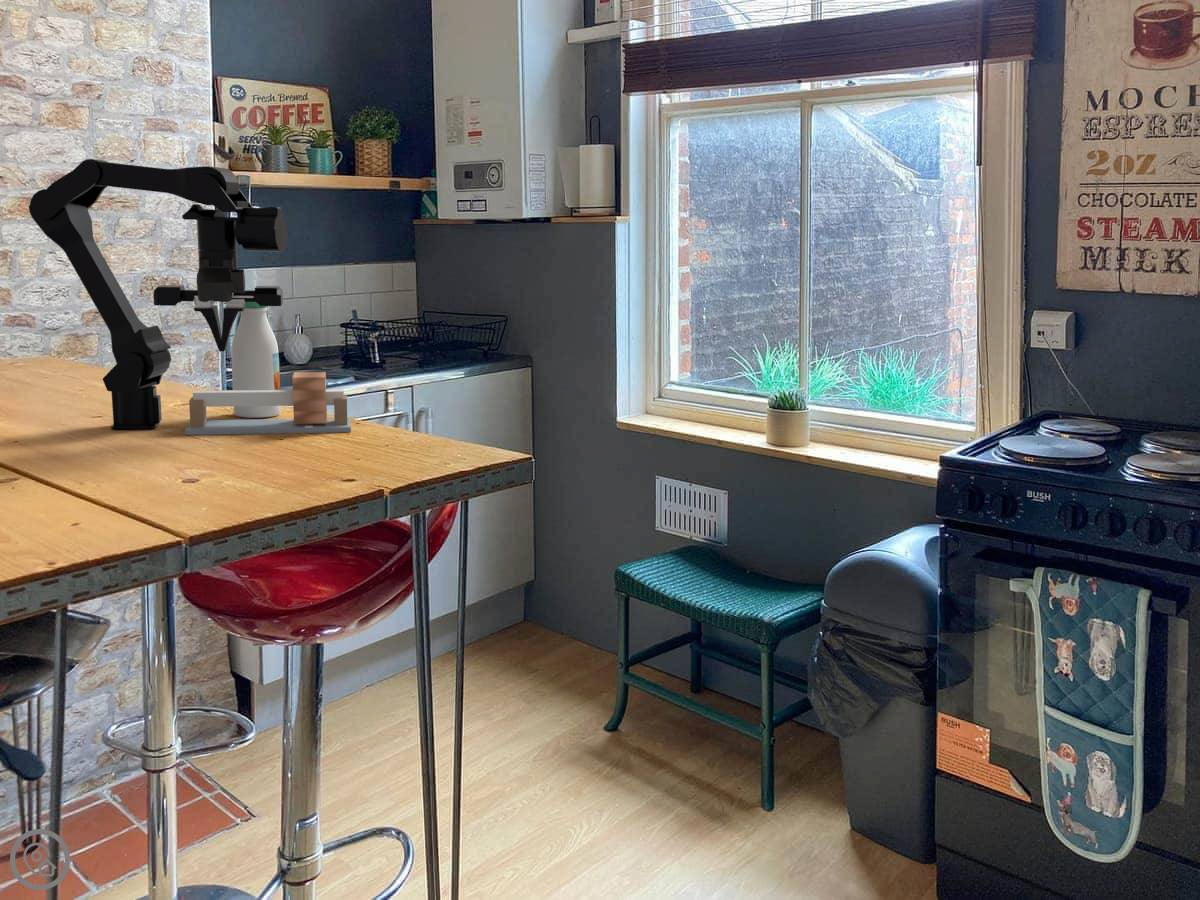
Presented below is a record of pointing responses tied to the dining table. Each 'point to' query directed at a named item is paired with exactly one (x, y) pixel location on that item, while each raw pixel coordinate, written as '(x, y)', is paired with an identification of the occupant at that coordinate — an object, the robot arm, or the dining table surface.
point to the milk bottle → (255, 359)
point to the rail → (263, 398)
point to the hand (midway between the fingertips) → (222, 351)
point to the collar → (309, 397)
